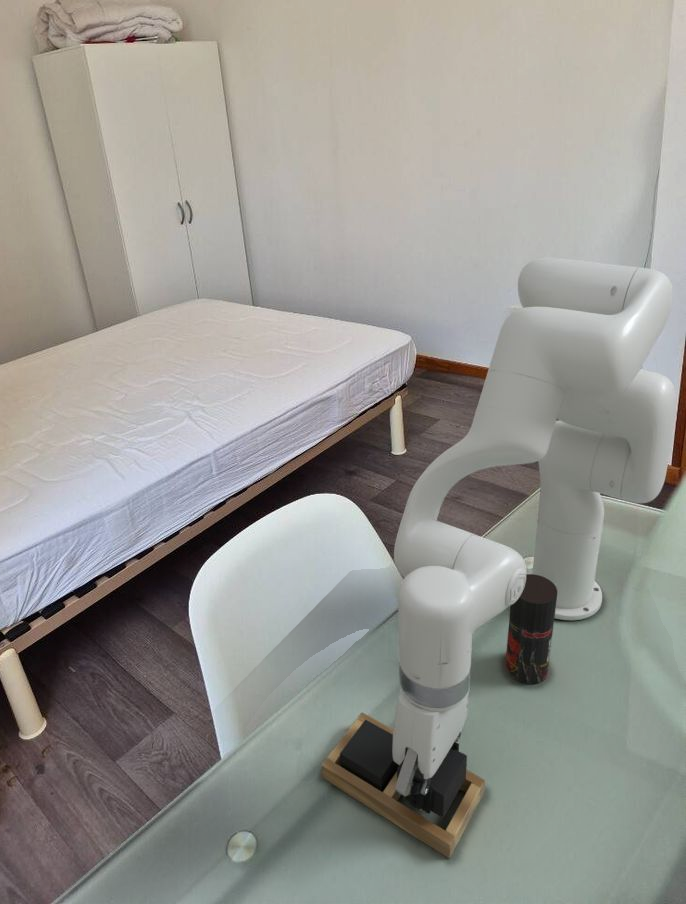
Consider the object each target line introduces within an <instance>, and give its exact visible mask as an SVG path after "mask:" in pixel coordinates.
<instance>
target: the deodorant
mask: <svg viewBox="0 0 686 904" xmlns="http://www.w3.org/2000/svg"><path fill="white" fill-rule="evenodd" d="M556 601H557V588H556V586H555V585H554V583H553V582H551V581H550V580H549V579H547V578H545V577H542V576H539V575H534V574H526V583H525V587H524V589H523V592H522V594H521V595H520V597H519V598H518V600H517V601H516V602H515V603H514V604H512V605H510V606H509V618H508V630H507V639H506V640H507V641H506V653H505V666H504V667H505V671H506V672H507V675H508V676H510V678H512V679H513V680H514V681H516V682H518V683H520V684H524V685H530V686H531V685H532V686H534V685H538V684H541V683H543V682H544V681H545V680H546V679H547V676H548V673H549V666H550V658H551V650H552V642H553V633H554V626H555V625H554V624H555V618H554V617H555V609H556Z"/></svg>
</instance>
